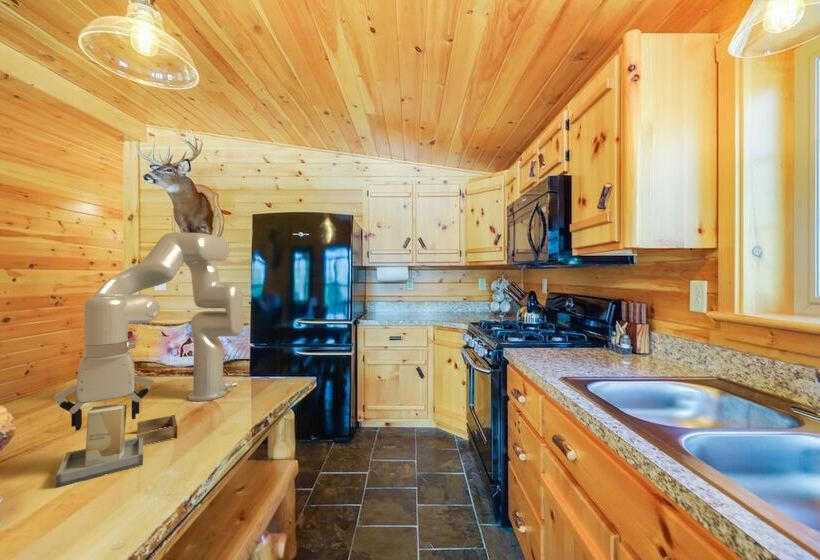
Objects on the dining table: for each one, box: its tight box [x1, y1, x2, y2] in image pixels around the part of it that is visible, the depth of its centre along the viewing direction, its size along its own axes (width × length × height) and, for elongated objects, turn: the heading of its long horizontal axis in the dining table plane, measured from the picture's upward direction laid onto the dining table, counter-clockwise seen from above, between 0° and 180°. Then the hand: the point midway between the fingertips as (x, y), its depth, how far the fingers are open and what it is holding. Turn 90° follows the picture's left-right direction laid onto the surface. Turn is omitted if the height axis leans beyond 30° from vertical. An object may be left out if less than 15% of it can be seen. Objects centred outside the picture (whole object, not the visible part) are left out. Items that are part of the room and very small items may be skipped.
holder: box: [136, 414, 178, 446], centre depth 93 cm, size 9×11×3 cm
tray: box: [55, 437, 144, 488], centre depth 78 cm, size 14×12×2 cm
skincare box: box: [85, 402, 127, 467], centre depth 78 cm, size 6×4×12 cm
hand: (107, 422), depth 79 cm, fingers open, 9 cm apart
